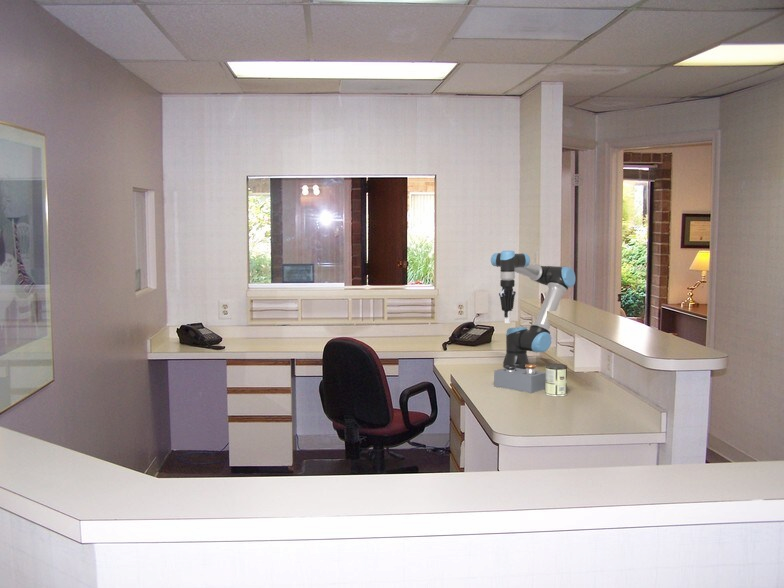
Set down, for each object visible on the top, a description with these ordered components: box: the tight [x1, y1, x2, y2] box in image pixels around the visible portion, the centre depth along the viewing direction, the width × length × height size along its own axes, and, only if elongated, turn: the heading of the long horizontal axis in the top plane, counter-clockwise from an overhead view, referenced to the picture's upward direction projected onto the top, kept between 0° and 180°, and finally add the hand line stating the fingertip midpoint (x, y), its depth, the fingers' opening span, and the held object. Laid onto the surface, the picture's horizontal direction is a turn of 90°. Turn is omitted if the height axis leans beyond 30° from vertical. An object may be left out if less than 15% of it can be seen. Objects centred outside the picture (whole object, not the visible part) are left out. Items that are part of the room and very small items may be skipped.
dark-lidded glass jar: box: [504, 365, 516, 372], centre depth 363 cm, size 5×5×8 cm
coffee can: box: [544, 363, 568, 398], centre depth 343 cm, size 10×10×14 cm
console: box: [493, 367, 546, 394], centre depth 358 cm, size 14×22×8 cm, turn 46°
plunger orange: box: [525, 363, 537, 375], centre depth 354 cm, size 5×5×8 cm
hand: (507, 322), depth 386 cm, fingers closed
